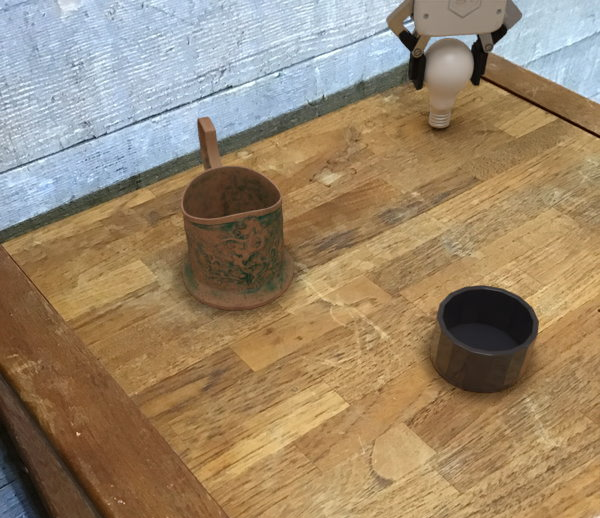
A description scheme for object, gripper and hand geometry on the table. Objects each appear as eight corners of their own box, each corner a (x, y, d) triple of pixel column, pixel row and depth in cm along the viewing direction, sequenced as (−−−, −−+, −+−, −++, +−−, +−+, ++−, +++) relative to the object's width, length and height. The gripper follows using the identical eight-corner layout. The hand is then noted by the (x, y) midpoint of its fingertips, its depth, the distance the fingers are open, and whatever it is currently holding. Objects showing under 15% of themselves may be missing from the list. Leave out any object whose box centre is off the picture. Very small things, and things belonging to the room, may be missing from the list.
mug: (260, 197, 85) (255, 99, 76) (308, 295, 74) (308, 194, 65) (162, 217, 83) (144, 118, 74) (196, 321, 72) (180, 220, 63)
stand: (509, 320, 72) (520, 281, 68) (538, 388, 66) (552, 349, 63) (421, 328, 71) (427, 289, 68) (443, 397, 66) (451, 359, 62)
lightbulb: (423, 109, 97) (434, 24, 89) (469, 120, 96) (485, 34, 87) (406, 133, 94) (415, 46, 85) (454, 144, 92) (468, 57, 83)
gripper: (394, -68, 73) (381, 103, 87) (562, -77, 75) (522, 93, 88) (380, -93, 78) (369, 72, 92) (538, -102, 79) (504, 63, 93)
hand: (445, 81), depth 90 cm, fingers closed on lightbulb, 6 cm apart
